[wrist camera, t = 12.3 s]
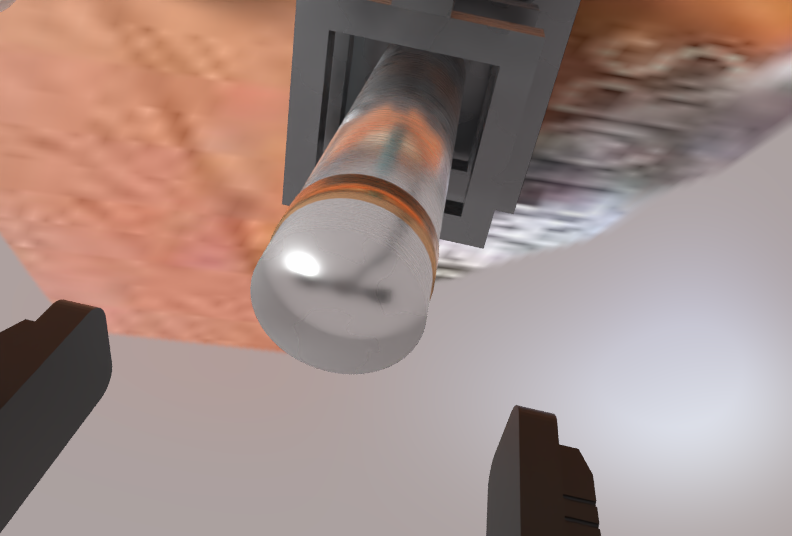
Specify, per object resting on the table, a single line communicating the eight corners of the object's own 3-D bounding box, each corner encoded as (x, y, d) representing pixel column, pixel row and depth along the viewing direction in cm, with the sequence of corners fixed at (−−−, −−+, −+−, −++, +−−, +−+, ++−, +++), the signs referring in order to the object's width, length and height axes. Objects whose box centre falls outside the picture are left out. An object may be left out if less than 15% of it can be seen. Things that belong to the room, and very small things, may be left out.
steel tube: (476, 38, 28) (446, 250, 13) (456, 125, 30) (410, 391, 15) (385, 19, 28) (251, 208, 13) (372, 107, 30) (245, 354, 15)
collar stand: (590, -45, 26) (619, -9, 20) (513, 203, 33) (515, 293, 26) (312, -102, 27) (246, -87, 20) (292, 155, 33) (238, 231, 27)
